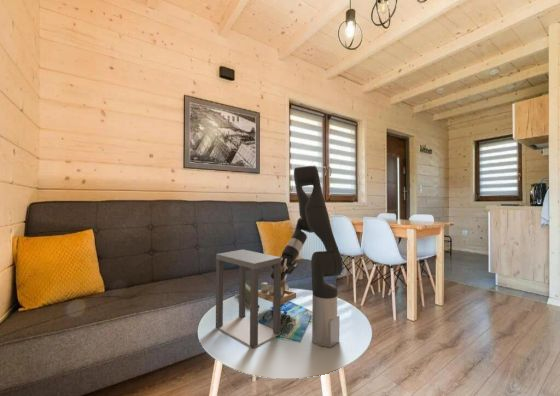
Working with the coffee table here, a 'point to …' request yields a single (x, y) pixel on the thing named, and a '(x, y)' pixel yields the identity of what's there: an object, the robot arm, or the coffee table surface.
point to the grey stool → (243, 326)
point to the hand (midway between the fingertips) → (276, 278)
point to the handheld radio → (248, 293)
